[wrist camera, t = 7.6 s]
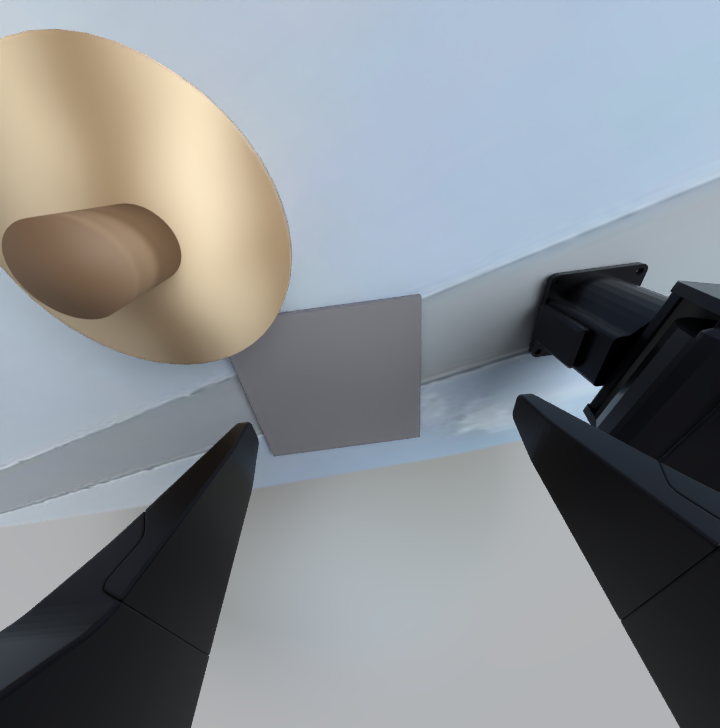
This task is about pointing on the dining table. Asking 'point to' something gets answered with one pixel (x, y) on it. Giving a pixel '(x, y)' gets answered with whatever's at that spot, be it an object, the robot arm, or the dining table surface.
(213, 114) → the oak lid
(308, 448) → the rubber mat
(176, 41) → the dining table surface
